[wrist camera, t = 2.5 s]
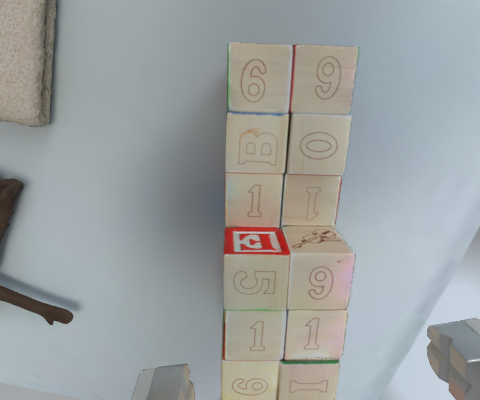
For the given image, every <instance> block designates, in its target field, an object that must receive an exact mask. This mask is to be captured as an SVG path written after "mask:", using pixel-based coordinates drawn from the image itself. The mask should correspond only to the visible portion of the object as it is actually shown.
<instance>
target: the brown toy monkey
mask: <svg viewBox="0 0 480 400" xmlns="http://www.w3.org/2000/svg"><path fill="white" fill-rule="evenodd" d="M22 188H23V183H22V182H20V181H18V180H15V179H2V180H0V244H1V241H2V238H3V235H4V232H5V230H6V229H7V228H8V226H9V223H8V221H9V219H10V217H11V215H12V214H13V207H14V204H15V201H16V198H17V196H18V194H19V193H20V191H21V190H22ZM0 300H1V301H5V302H8V303H11V304H13V305H16V306H19V307H21V308H23V309H26V310H28V311H31V312H34V313H37V314H39V315H41V316H42V317H44V318H45V320H46V321H47V322H48V323H49V324H50V325H53V321H58V322H61V323H64V324H68V323H69V322H71V321H72V319H73V314H72V313H71V312H70V311H68V310H66V309H63V308H60V307H56V306H53V305H49V304H46V303H43V302H40V301H37V300H35V299H32V298H30V297H27V296H25V295H23V294H20V293H18V292H15V291H13V290H11V289H8V288H6V287H3V286H1V285H0Z"/></svg>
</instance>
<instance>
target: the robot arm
mask: <svg viewBox="0 0 480 400" xmlns="http://www.w3.org/2000/svg"><path fill="white" fill-rule="evenodd" d="M427 336H428V337H429V339H431V342H430V344H429V345H428V346H427V356H428V359H429V362H430V365H431V367H432V369H433V370H434V372H435V373H436V375H437V376H438V377H439V378H440V379H442V380H443V381H445V382H447V383H449V392H450V393H451V394H452V395H453V397H454V398H455V399H456V400H480V320H479V319H476V318H472V319H466V320H460V321H455V322H449V323H443V324H437V325H432V326H429V327H428V329H427ZM189 376H190V371H189V367H188V365H187V364H179V365H171V366H163V367H157V368H151V369H143V370H142V371H141V373H140V374H139V377H138V380H137V383H136V386H135V389H134V392H133V395H132V397H131V400H195V390H194V386H193V383H192V382H191V381H190V380H189Z"/></svg>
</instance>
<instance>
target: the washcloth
mask: <svg viewBox="0 0 480 400" xmlns="http://www.w3.org/2000/svg"><path fill="white" fill-rule="evenodd" d="M55 5H56V0H0V121H7V122H15V123H19V124H21V125H28V126H30V127H42V126H45V125H46V124H50V122H49V117H50V113H49V112H50V107H49V105H50V101H51V98H50V95H51V94H52V91H51V90H50V89H51V84H50V83H51V82H52V59H53V45H54V42H53V41H54V35H55V28H54V22H55V18H56V13H55V12H56V10H57V9H56V7H55Z"/></svg>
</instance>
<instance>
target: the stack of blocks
mask: <svg viewBox="0 0 480 400" xmlns="http://www.w3.org/2000/svg"><path fill="white" fill-rule="evenodd" d="M358 55H359V47H353V46H329V45H306V44H296V45H282V44H257V43H232V42H230V43H228V84H227V114H226V174H225V229H224V253H223V327H222V353H221V400H335V397H336V391H337V383H338V377H339V368H340V363H339V359H340V358H341V357H342V355H343V349H344V340H345V333H346V326H347V319H348V311H347V307H348V305H349V299H350V292H351V285H352V278H353V271H354V263H355V257H356V255H355V252H354V251H353V250H352V249H351V248H350V246H349V245H348V244H347V242H346V241H345V240H344V238H343V237H342V236H341V235H340V233H339V232H338V231H337V229H336V228H335V225H336V218H337V210H338V203H339V196H340V189H341V181H342V175H343V174H344V171H345V164H346V157H347V150H348V143H349V136H350V128H351V121H352V115H351V114H350V110H351V105H352V99H353V92H354V84H355V78H356V69H357V63H358Z"/></svg>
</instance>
